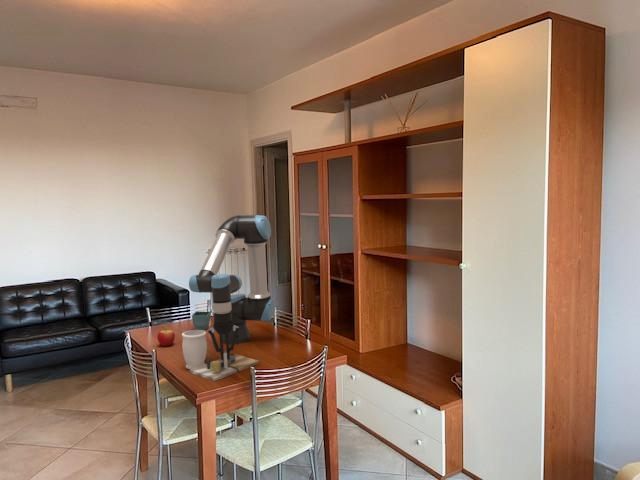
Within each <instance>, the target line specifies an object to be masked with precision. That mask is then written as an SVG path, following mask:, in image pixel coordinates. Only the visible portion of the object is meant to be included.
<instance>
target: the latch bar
mask: <svg viewBox="0 0 640 480" xmlns="http://www.w3.org/2000/svg"><path fill="white" fill-rule="evenodd" d="M235 354H236V353H230V359H229V360H227V365H228V364H229V363H231V362H234V361H235ZM210 363H211V371H215V372H218V371H220V370H221V369H222V368H223V367H224V360H220V361H216V360H213V361H210Z"/></svg>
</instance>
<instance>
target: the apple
mask: <svg viewBox="0 0 640 480" xmlns="http://www.w3.org/2000/svg"><path fill="white" fill-rule="evenodd" d="M162 328H163V329H164V330H160V331H159V332H158V333H157V337H156V338H157V341H158V344H159V345H161V346H162V347H169V346H171V345H173V344H174V342H175V338H176V334H175V331H174V330H166V329H165V327H163V326H162Z"/></svg>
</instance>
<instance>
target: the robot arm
mask: <svg viewBox="0 0 640 480" xmlns="http://www.w3.org/2000/svg"><path fill="white" fill-rule="evenodd" d="M271 237H272V228H271V223H270V220H269V218H268V217H267V216H266V215H259V214H251V215H249V214H247V215H246V214H245V215H243V214H242V215H241V214H237V215H234V216H231V217H229V218H228V219H226V220H225V221H223V223H221V225H220V226H219V227H218V229H217V231H216V233H215V240H213V243H212V245H211V247H210V250H209V252H208V254H207V256H206V258H205V260H204V262H203V265H202V267H201V269H200V270H199V273H198V274H192V275H191V276H190V277H189V280H188V288H189V290H190V291H191V292H192V293H200V294H201V293H211V295H212V310H213V325H212V327H211V328H209V329H208V331H207V333H208V334H209V335H210V337H211V340H212V343H213V346H214V350H215V352H217V353H220V359H221V360H224V368H228V365H227V360H229V359H230V354H231V353H230V352H231V351H234V349H235V345H236V344H242V343H246V342H248V341H249V340H251V334H250V331H249V327H248V325H247V321H250V322H252V321H255V322H269V321H271V319H272V318H273V316H274V313H275V308H276V301H275V298H273V297H272V296H271V295H272V294H271V293H270V292H269V291H268V282H267V281H268V280H267V279H268V278H267V265H266V264H267V263H266V262H267V261H266V246H265V245H266V244H267V243H268V240H269V239H270V238H271ZM238 239H241V240H243V243H244V245H245V246H247V247H246V248H247V262H248V278H249V291H250V292H249V293H248V294H247V296H246V294H245V293H238V294H233V293H236V292H238V291H239V290H240V289H241V288H242V286H243V281H242V278H241V277H240V276H239V275H238V274H227V273H220V274H219V271H220V269H221V266H222V264H223V262H224V260H225V258H226V255H227V254H228V251H229V249H230V247H231V245H232V244H234V243H235V241H236V240H238ZM215 331H216V333H217V334H218V335H219V345H218V341H217V338H216V336H215ZM224 344H225V348H226V350H225V351H224Z"/></svg>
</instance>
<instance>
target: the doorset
mask: <svg viewBox="0 0 640 480" xmlns="http://www.w3.org/2000/svg"><path fill="white" fill-rule="evenodd" d="M234 354H235V361H234V362H231V363H229V364H228V368H224V367H223V368H222V369H221V370H220V371H218V372H215V371H211V356H206V363H205V365H202V366H199V367H197V368H194V369H189V373H190V374H193V375H196V376H199V377H202V378H204V379H208V380H210V381H213V382H216V381H218V380H220V379H223V378H225V377H229V376H231V375H234V374H237V373H238V372H241V371H245V370H246V369H249V368H251V366H252V367H254V366H256V365H258V364H260V360H259V359H255V358H254V359H253V358H252V357H251V358H250V357H247V356H244V355H239V354H236V353H234ZM220 360H221V358H219V359H217V360H215V361H220Z"/></svg>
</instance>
